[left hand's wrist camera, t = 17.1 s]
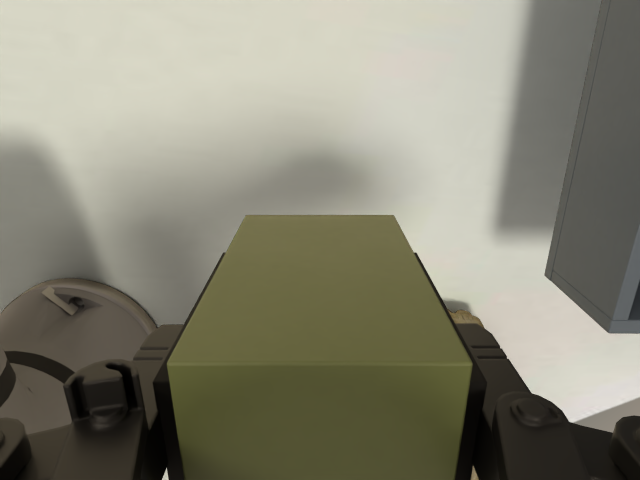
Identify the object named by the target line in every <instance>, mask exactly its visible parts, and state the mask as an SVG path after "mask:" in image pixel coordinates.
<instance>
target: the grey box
mask: <svg viewBox="0 0 640 480" xmlns="http://www.w3.org/2000/svg"><path fill="white" fill-rule="evenodd" d="M545 276H546V277H547V278H548V279H549V280H550V281H552V282H553V283H554V284H555V285H556V286H557V287H558V288H559V289H560V290H562V291H563V292H564V293H565V294H566V295H567V296H568V297H569V298H570V299H571V300H573V301H574V302H575V303H576V304H577V305H578V306H579V307H580V308H581V309H582V310H584V311H585V312H586V313H587V314H588V315H589V316H590V317H591V318H592V319H593V320H595V321H596V322H597V323H598V324H599V325H600V326H601V327H602V328H603V329H604V330H606V331H607V332H608V333H640V0H602V2H601V7H600V12H599V17H598V21H597V26H596V31H595V36H594V41H593V45H592V50H591V55H590V60H589V65H588V69H587V74H586V79H585V84H584V88H583V93H582V98H581V103H580V108H579V112H578V117H577V122H576V127H575V131H574V136H573V141H572V146H571V151H570V155H569V160H568V165H567V170H566V174H565V179H564V184H563V189H562V194H561V198H560V203H559V208H558V213H557V217H556V222H555V227H554V232H553V237H552V241H551V246H550V251H549V256H548V260H547V265H546V270H545Z"/></svg>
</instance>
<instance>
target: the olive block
mask: <svg viewBox="0 0 640 480" xmlns="http://www.w3.org/2000/svg"><path fill="white" fill-rule="evenodd" d="M472 365H473V363H472V361H471V359H470V357H469V355H468V353H467V352H466V350H465V348H464V346H463V344H462V342H461V340H460V338H459V337H458V335H457V333H456V331H455V329H454V327H453V325H452V323H451V322H450V320H449V318H448V316H447V314H446V312H445V310H444V308H443V307H442V305H441V303H440V301H439V299H438V297H437V295H436V293H435V292H434V290H433V288H432V286H431V284H430V282H429V280H428V278H427V277H426V275H425V273H424V271H423V269H422V267H421V265H420V263H419V262H418V260H417V258H416V256H415V254H414V252H413V250H412V248H411V247H410V245H409V243H408V241H407V239H406V237H405V235H404V233H403V232H402V230H401V228H400V226H399V224H398V222H397V220H396V218H395V217H394V215H246V216H245V218H244V220H243V222H242V224H241V225H240V227H239V229H238V231H237V233H236V235H235V237H234V238H233V240H232V242H231V244H230V246H229V248H228V250H227V252H226V253H225V255H224V257H223V259H222V261H221V263H220V265H219V267H218V268H217V270H216V272H215V274H214V276H213V278H212V280H211V281H210V283H209V285H208V287H207V289H206V291H205V293H204V295H203V296H202V298H201V300H200V302H199V304H198V306H197V308H196V309H195V311H194V313H193V315H192V317H191V319H190V321H189V323H188V324H187V326H186V328H185V330H184V332H183V334H182V336H181V338H180V339H179V341H178V343H177V345H176V347H175V349H174V351H173V352H172V354H171V356H170V358H169V360H168V362H167V369H168V375H169V382H170V388H171V395H172V401H173V408H174V415H175V421H176V428H177V434H178V441H179V447H180V454H181V461H182V467H183V474H184V480H455V477H456V471H457V464H458V457H459V451H460V444H461V438H462V431H463V425H464V418H465V411H466V405H467V398H468V392H469V385H470V378H471V372H472Z"/></svg>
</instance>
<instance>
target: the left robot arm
mask: <svg viewBox="0 0 640 480" xmlns="http://www.w3.org/2000/svg"><path fill="white" fill-rule="evenodd" d="M414 254H415V256H416V258H417V260H418V262H419V263H420V265H421V267H422V269H423V271H424V273H425V275H426V277H427V278H428V280H429V282H430V284H431V286H432V288H433V290H434V292H435V293H436V295H437V297H438V299H439V301H440V303H441V305H442V307H443V308H444V310H445V312H446V314H447V316H448V318H449V320H450V322H451V323H452V325H453V327H454V329H455V331H456V333H457V335H458V337H459V338H460V340H461V342H462V344H463V346H464V348H465V350H466V352H467V353H468V355H469V357H470V359H471V361H472V363H473V365H472V372H471V378H470V385H469V392H468V398H467V405H466V411H465V418H464V425H463V431H462V438H461V444H460V451H459V457H458V464H457V471H456V477H455V480H471V476H472V470H473V466H474V469H475V471H476V474H477V476H478V479H479V480H640V416H628V417H623V418H621V419H620V420H619V421H618V422H617V423H616V425H615V428H614V432H613V433H611V432H607V431H602V430H598V429H594V428H589V427H585V426H580V425H577V424H574V423H571V422H569V421H568V419H567V418H566V416H565V415H564V413H563V412H562V410H561V409H559V408H558V407H557V406H556V405H554V404H553V403H552V402H550V401H548V400H547V399H545V398H543V397H541V396H539V395H535V394H532V393H531V392H530V390H529V389H528V387H527V386H526V384H525V383H524V381H523V380H522V378H521V377H520V375H519V374H518V372H517V371H516V369H515V368H514V366H513V365H512V363H511V362H510V360H509V359H507V356H506V354H505V353H504V351H503V350H502V349H500V345H499V344H498V342H497V341H496V339H495V338H494V336H493V335H492V334H491V333H490V332H488V331H487V330H486V329H484V328H483V327H482V326H480V325H479V324H477V323H455V322H454V321H453V319H452V317H451V315H450V313H449V311H448V310H447V308H446V306H445V304H444V302H443V300H442V299H441V297H440V295H439V293H438V291H437V290H436V288H435V286H434V284H433V282H432V280H431V279H430V277H429V275H428V273H427V271H426V269H425V268H424V266H423V264H422V262H421V260H420V258H419V257H418V255H417V253H414ZM224 255H225V253H223V254H222V256H221V258H220V260H219V262H218V263H217V265H216V267H215V269H214V271H213V273H212V274H211V276H210V278H209V280H208V282H207V284H206V285H205V287H204V289H203V291H202V293H201V294H200V296H199V298H198V300H197V302H196V304H195V305H194V307H193V309H192V311H191V313H190V315H189V316H188V318H187V320H186V322H185V324H184V325H162V326H160V327H159V328H157V327H156V326H155V324H154V323H153V321H152V320H151V318H150V317H149V316H148V314H147V313H146V312H145V311H144V310H143V309H142V308H141V307H140V306H139V305H138V304H137V303H135V302H134V301H133V300H132V299H130V298H129V297H127V296H126V295H124V294H123V293H121V292H119V291H117V290H115V289H113V288H111V287H109V286H106V285H104V284H101V283H98V282H94V281H90V280H84V279H75V278H64V279H55V280H50V281H46V282H43V283H40V284H38V285H36V286H34V287H32V288H30V289H29V290H27V291H26V292H24V293H23V294H22V295H20V296H19V297H17V298H16V299H15V300H13V301H12V302H11V303H10V304H9V305H8V306H7V307H6V308H5V309H4V310H3V311H2V313H1V314H0V480H162V478H163V475H164V473H165V470H166V468H167V471H168V477H169V480H184V474H183V467H182V461H181V454H180V447H179V441H178V434H177V428H176V421H175V415H174V408H173V401H172V395H171V388H170V382H169V375H168V369H167V362H168V360H169V358H170V356H171V354H172V352H173V351H174V349H175V347H176V345H177V343H178V341H179V339H180V338H181V336H182V334H183V332H184V330H185V328H186V326H187V324H188V323H189V321H190V319H191V317H192V315H193V313H194V311H195V309H196V308H197V306H198V304H199V302H200V300H201V298H202V296H203V295H204V293H205V291H206V289H207V287H208V285H209V283H210V281H211V280H212V278H213V276H214V274H215V272H216V270H217V268H218V267H219V265H220V263H221V261H222V259H223V257H224Z"/></svg>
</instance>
